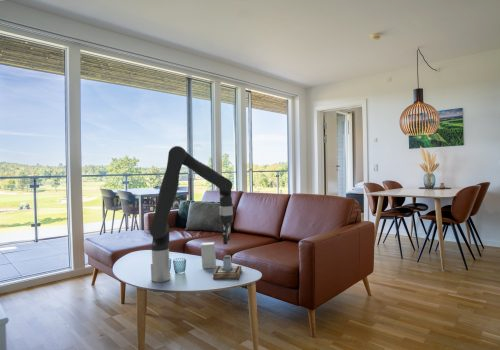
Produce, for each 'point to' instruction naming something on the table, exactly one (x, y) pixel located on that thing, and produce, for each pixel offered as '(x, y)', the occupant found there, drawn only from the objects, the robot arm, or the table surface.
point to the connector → (227, 263)
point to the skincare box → (208, 255)
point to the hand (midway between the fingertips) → (226, 242)
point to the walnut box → (227, 273)
